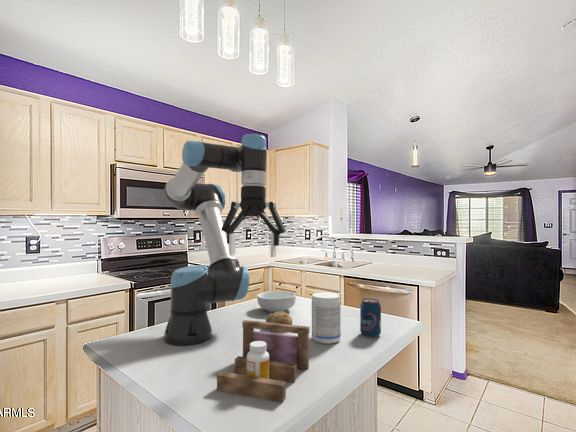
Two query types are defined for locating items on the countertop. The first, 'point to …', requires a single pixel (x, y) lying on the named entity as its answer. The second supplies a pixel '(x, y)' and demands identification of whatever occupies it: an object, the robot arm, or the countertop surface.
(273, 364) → the wooden rack
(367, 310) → the soda can
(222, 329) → the countertop surface
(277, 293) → the cereal bowl
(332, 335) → the supplement tub
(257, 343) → the supplement bottle
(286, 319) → the bread roll
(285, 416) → the countertop surface
